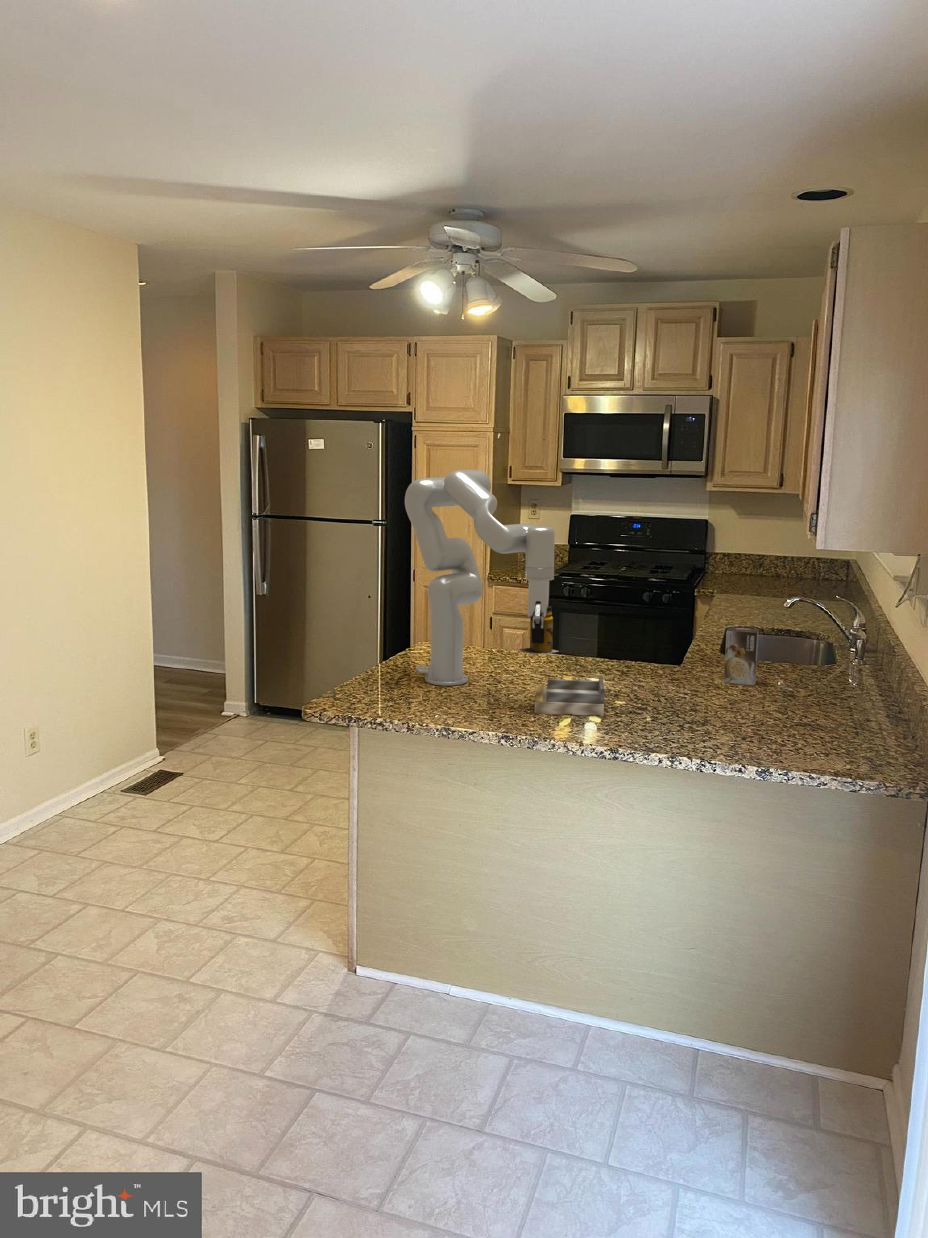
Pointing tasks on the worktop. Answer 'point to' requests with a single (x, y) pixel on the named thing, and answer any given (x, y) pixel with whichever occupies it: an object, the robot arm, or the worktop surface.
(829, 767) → the worktop surface
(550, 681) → the dock
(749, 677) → the coffee box
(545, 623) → the condiment
